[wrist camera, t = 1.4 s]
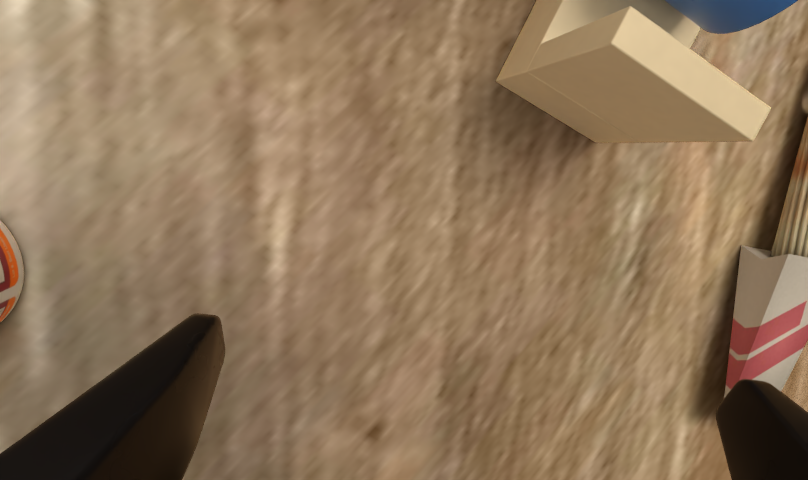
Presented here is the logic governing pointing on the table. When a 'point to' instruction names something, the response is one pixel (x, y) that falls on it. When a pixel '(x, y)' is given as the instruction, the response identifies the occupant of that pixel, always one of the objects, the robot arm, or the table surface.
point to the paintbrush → (774, 293)
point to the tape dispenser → (636, 69)
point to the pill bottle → (9, 272)
